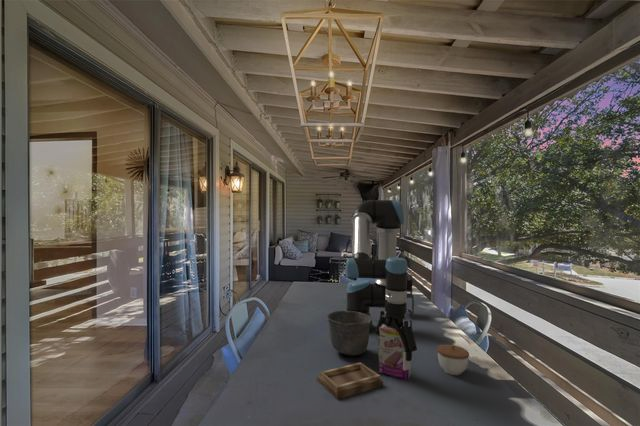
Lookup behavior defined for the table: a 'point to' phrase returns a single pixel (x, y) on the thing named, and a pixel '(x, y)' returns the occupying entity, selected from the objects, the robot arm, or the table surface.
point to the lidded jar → (453, 359)
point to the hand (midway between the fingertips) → (394, 362)
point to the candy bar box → (391, 353)
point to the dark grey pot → (349, 331)
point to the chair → (410, 295)
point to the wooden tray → (349, 380)
